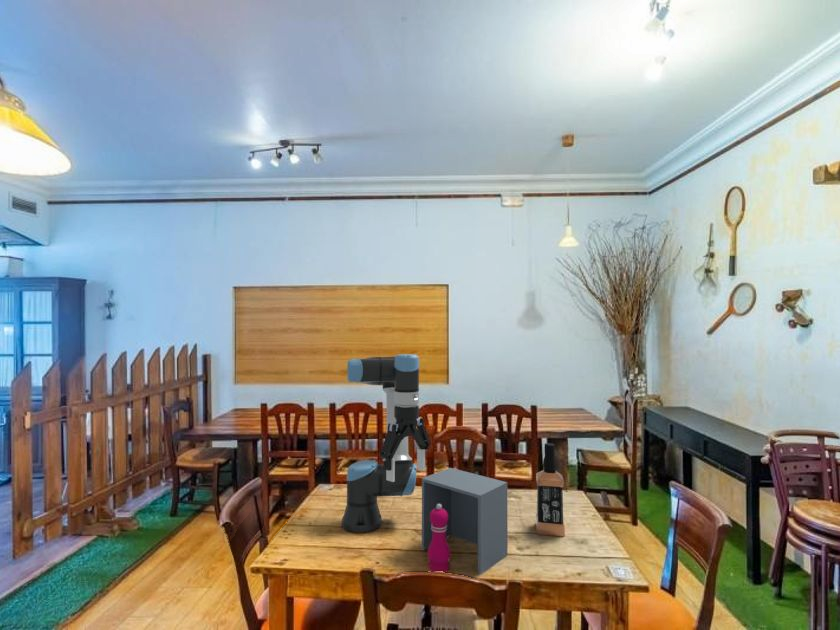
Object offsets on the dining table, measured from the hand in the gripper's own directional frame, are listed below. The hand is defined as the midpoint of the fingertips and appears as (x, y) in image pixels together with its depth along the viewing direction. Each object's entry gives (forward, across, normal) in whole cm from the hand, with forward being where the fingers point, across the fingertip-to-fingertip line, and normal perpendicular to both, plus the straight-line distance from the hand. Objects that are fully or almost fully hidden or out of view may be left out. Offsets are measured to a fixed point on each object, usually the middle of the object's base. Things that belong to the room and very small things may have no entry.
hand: (406, 475), depth 138 cm
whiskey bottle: (+31, +60, -18) cm, 70 cm away
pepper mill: (+31, +11, -4) cm, 33 cm away
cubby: (+31, +24, -4) cm, 39 cm away
